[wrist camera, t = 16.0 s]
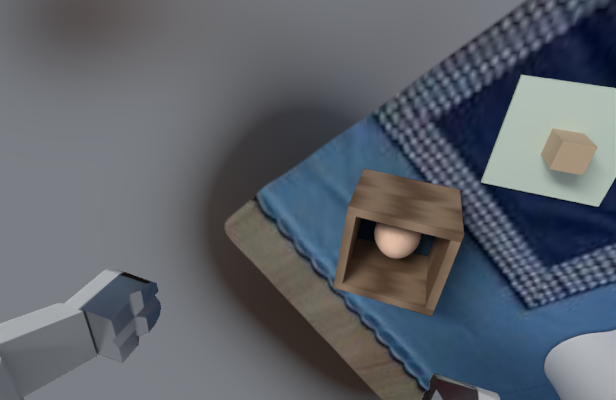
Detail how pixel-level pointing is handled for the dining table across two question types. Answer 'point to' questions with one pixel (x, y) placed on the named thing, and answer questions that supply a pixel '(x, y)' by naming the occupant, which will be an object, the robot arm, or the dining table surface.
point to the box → (409, 215)
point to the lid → (557, 141)
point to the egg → (396, 240)
